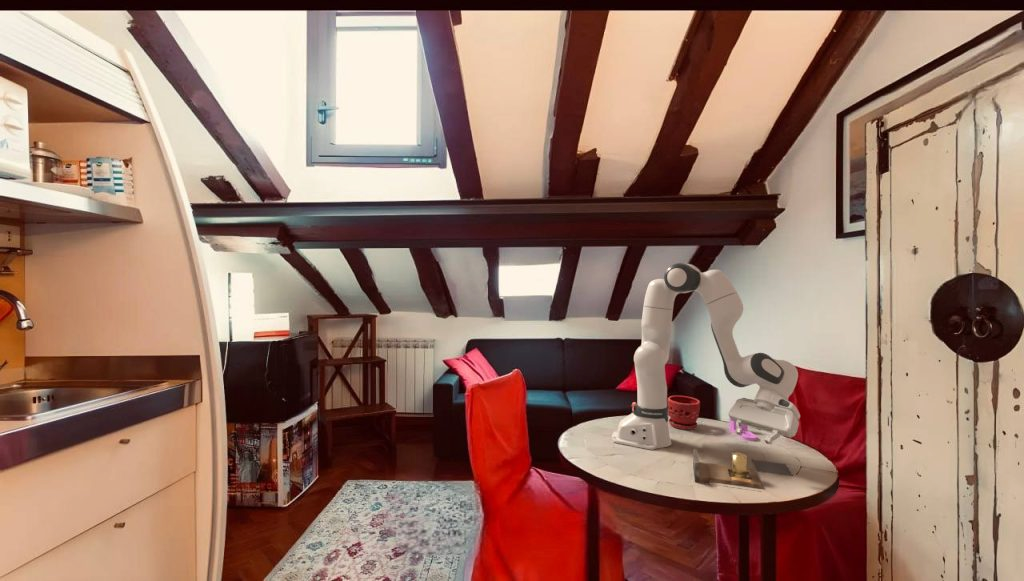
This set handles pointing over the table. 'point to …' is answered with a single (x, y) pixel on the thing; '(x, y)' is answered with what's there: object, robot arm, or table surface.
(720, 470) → the socket block
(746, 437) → the bracket
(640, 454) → the table surface
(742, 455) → the brass peg
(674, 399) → the plant pot
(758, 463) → the pad
